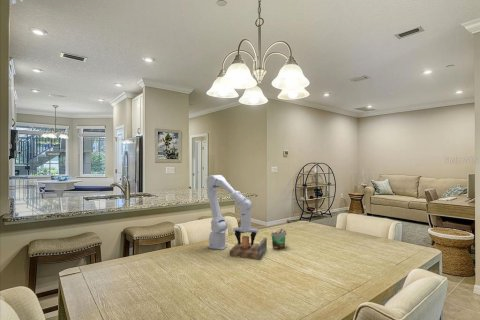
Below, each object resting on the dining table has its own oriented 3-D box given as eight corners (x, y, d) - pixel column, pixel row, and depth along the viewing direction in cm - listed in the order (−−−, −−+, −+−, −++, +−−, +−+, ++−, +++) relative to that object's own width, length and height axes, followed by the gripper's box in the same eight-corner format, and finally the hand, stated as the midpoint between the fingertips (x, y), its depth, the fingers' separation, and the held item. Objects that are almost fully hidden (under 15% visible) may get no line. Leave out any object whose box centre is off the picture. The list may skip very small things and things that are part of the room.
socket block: (229, 255, 146) (229, 243, 146) (238, 246, 161) (238, 235, 161) (260, 259, 141) (260, 246, 141) (266, 249, 156) (266, 237, 156)
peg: (241, 253, 150) (241, 237, 150) (243, 251, 154) (243, 235, 154) (247, 254, 149) (247, 238, 149) (250, 251, 152) (250, 236, 152)
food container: (280, 251, 153) (280, 234, 153) (271, 249, 156) (271, 232, 156) (290, 246, 162) (290, 229, 162) (281, 244, 166) (281, 228, 166)
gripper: (231, 221, 150) (231, 245, 150) (256, 223, 146) (256, 248, 146) (235, 219, 157) (235, 241, 157) (259, 220, 152) (259, 244, 152)
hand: (245, 244), depth 152 cm, fingers open, 7 cm apart
